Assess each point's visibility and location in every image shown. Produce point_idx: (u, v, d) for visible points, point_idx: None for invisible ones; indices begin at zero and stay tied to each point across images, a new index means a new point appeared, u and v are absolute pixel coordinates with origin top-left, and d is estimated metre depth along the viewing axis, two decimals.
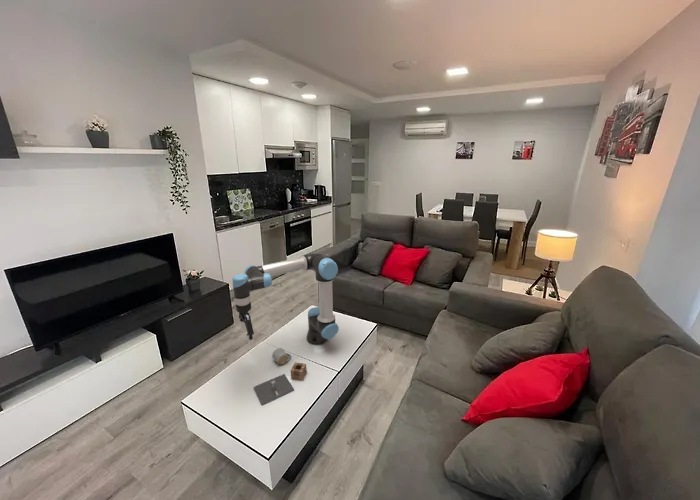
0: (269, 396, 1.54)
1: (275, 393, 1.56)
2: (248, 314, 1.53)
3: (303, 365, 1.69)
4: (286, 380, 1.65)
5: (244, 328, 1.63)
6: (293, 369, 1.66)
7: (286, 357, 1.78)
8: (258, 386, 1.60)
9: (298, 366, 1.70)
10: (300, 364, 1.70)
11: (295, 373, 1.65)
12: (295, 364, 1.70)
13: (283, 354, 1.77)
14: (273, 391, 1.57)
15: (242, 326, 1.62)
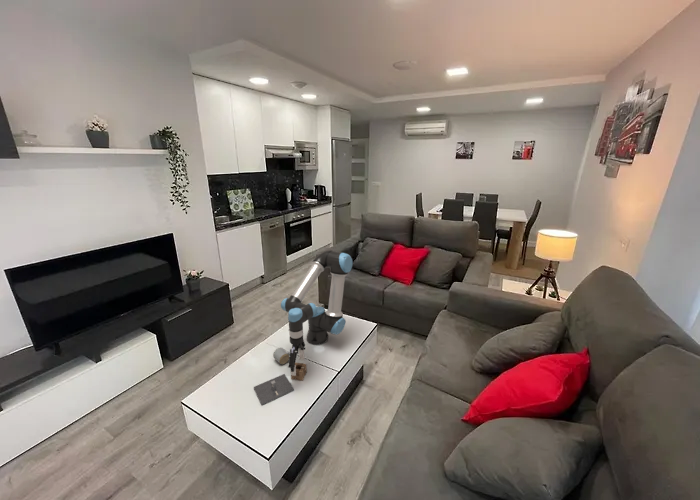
0: (269, 396, 1.54)
1: (275, 393, 1.56)
2: (297, 347, 1.61)
3: (303, 365, 1.69)
4: (286, 380, 1.65)
5: (301, 356, 1.73)
6: None
7: (287, 357, 1.79)
8: (258, 386, 1.60)
9: (298, 366, 1.70)
10: (300, 364, 1.70)
11: None
12: (295, 364, 1.70)
13: (284, 354, 1.78)
14: (273, 391, 1.57)
15: (300, 354, 1.72)
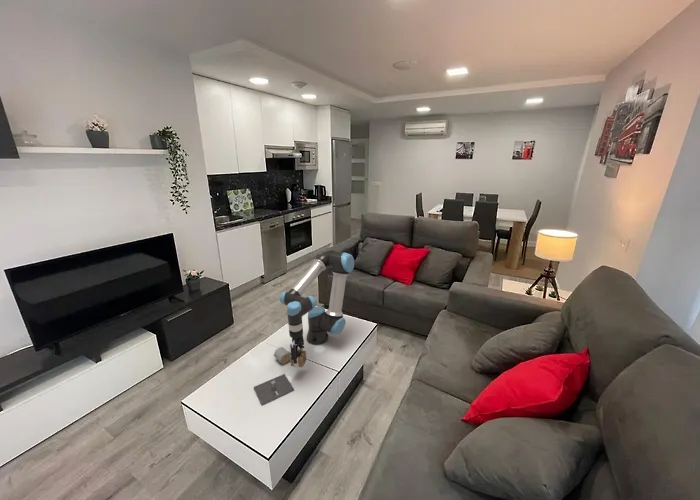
0: (269, 396, 1.54)
1: (275, 393, 1.56)
2: (297, 341, 1.60)
3: (303, 352, 1.67)
4: (286, 380, 1.65)
5: None
6: None
7: (288, 356, 1.79)
8: (258, 386, 1.60)
9: (298, 353, 1.67)
10: (300, 351, 1.68)
11: None
12: None
13: (285, 353, 1.78)
14: (273, 391, 1.57)
15: None
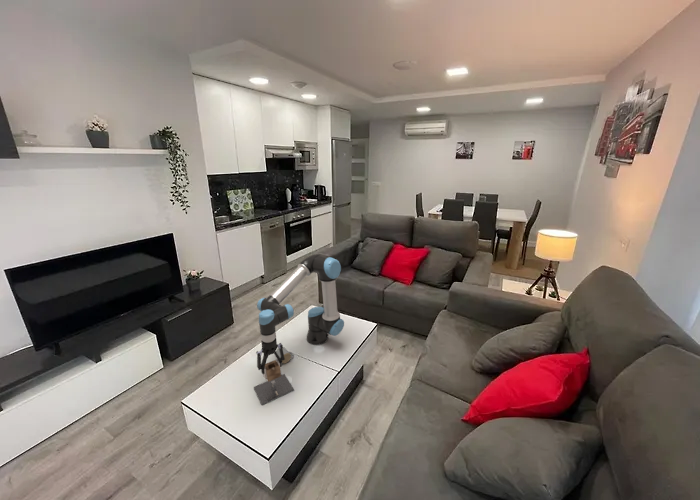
0: (269, 396, 1.54)
1: (275, 393, 1.56)
2: (266, 352, 1.49)
3: (276, 367, 1.54)
4: (286, 380, 1.65)
5: None
6: (265, 365, 1.55)
7: (289, 356, 1.79)
8: (258, 386, 1.60)
9: (274, 365, 1.57)
10: (276, 364, 1.56)
11: None
12: (273, 362, 1.58)
13: (286, 353, 1.78)
14: (273, 391, 1.57)
15: None
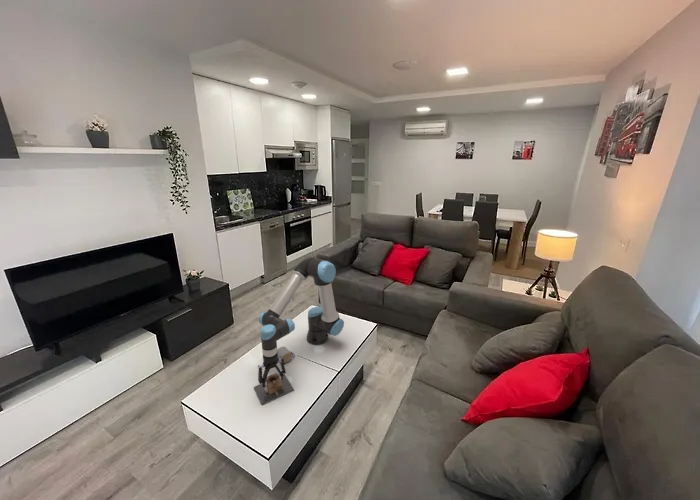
0: (269, 396, 1.54)
1: (275, 393, 1.56)
2: (268, 366, 1.52)
3: (277, 380, 1.57)
4: (286, 380, 1.65)
5: None
6: (266, 378, 1.58)
7: (290, 355, 1.80)
8: (258, 386, 1.60)
9: (275, 378, 1.59)
10: (276, 377, 1.59)
11: None
12: (274, 375, 1.60)
13: (287, 352, 1.79)
14: None
15: None
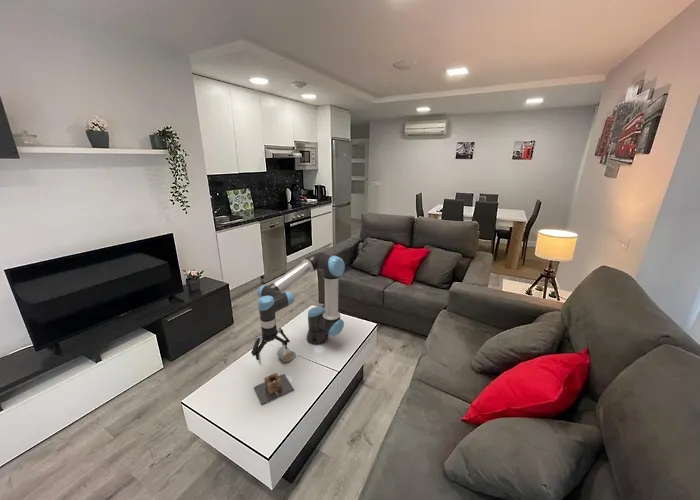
0: (269, 396, 1.54)
1: (275, 393, 1.56)
2: (266, 338, 1.49)
3: (277, 380, 1.57)
4: (286, 380, 1.65)
5: (283, 351, 1.58)
6: (266, 378, 1.58)
7: (291, 355, 1.80)
8: (258, 386, 1.60)
9: (275, 378, 1.59)
10: (276, 377, 1.59)
11: (266, 383, 1.56)
12: (274, 375, 1.60)
13: (288, 352, 1.79)
14: None
15: (282, 347, 1.58)
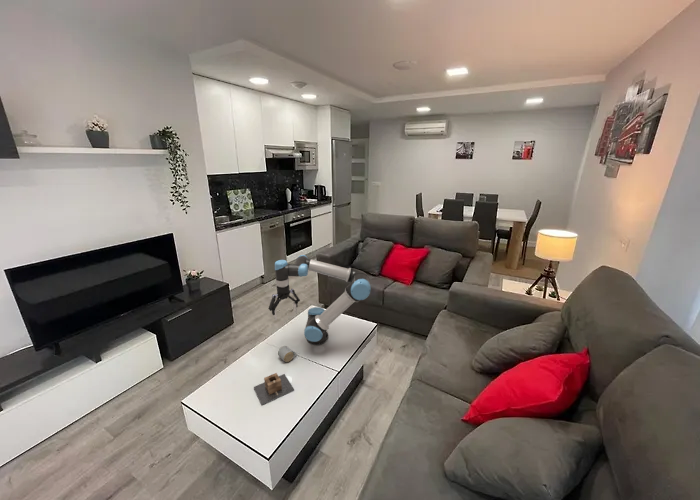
0: (269, 396, 1.54)
1: (275, 393, 1.56)
2: (281, 296, 1.76)
3: (277, 380, 1.57)
4: (286, 380, 1.65)
5: (294, 309, 1.86)
6: (266, 378, 1.58)
7: (291, 355, 1.80)
8: (258, 386, 1.60)
9: (275, 378, 1.59)
10: (276, 377, 1.59)
11: (266, 383, 1.56)
12: (274, 375, 1.60)
13: (288, 352, 1.79)
14: None
15: (294, 306, 1.86)
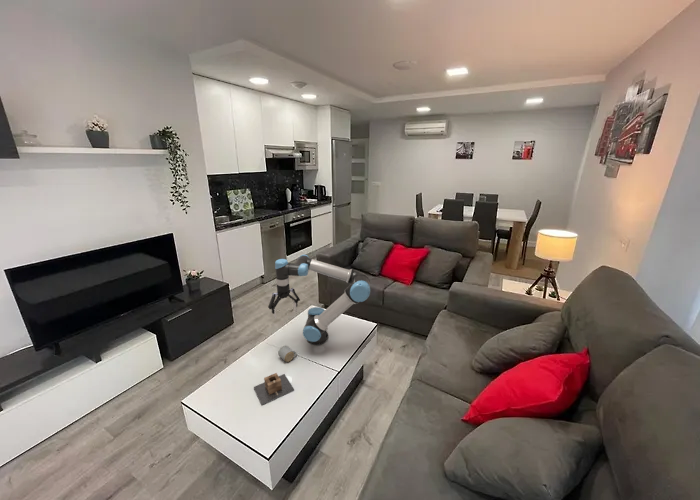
0: (269, 396, 1.54)
1: (275, 393, 1.56)
2: (281, 295, 1.77)
3: (277, 380, 1.57)
4: (286, 380, 1.65)
5: (294, 308, 1.86)
6: (266, 378, 1.58)
7: (292, 354, 1.81)
8: (258, 386, 1.60)
9: (275, 378, 1.59)
10: (276, 377, 1.59)
11: (266, 383, 1.56)
12: (274, 375, 1.60)
13: (289, 351, 1.80)
14: None
15: (294, 305, 1.87)
